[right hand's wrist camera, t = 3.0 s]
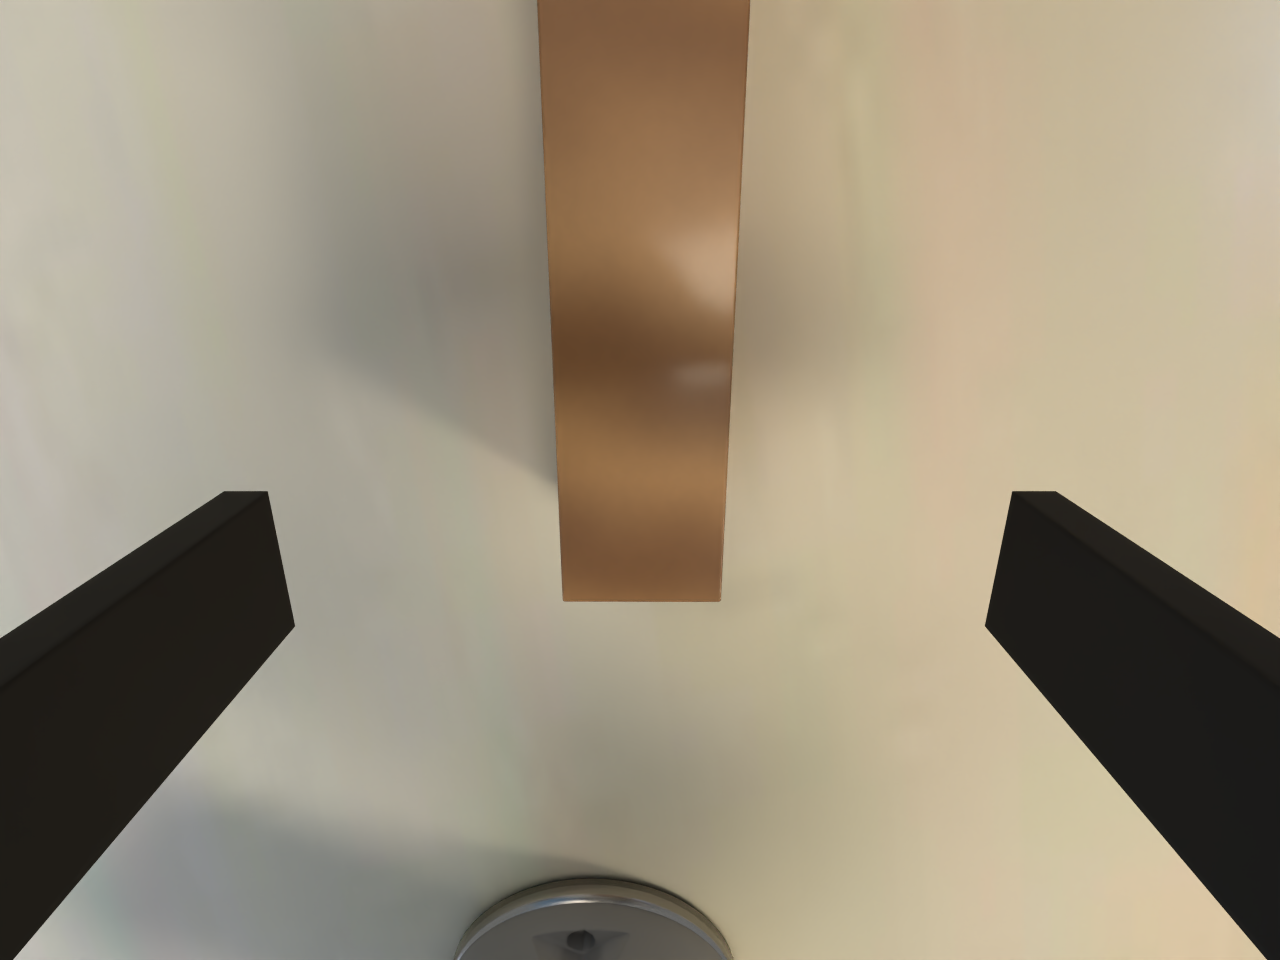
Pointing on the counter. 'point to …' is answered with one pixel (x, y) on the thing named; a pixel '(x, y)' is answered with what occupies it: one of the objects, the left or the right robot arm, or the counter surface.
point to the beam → (642, 285)
